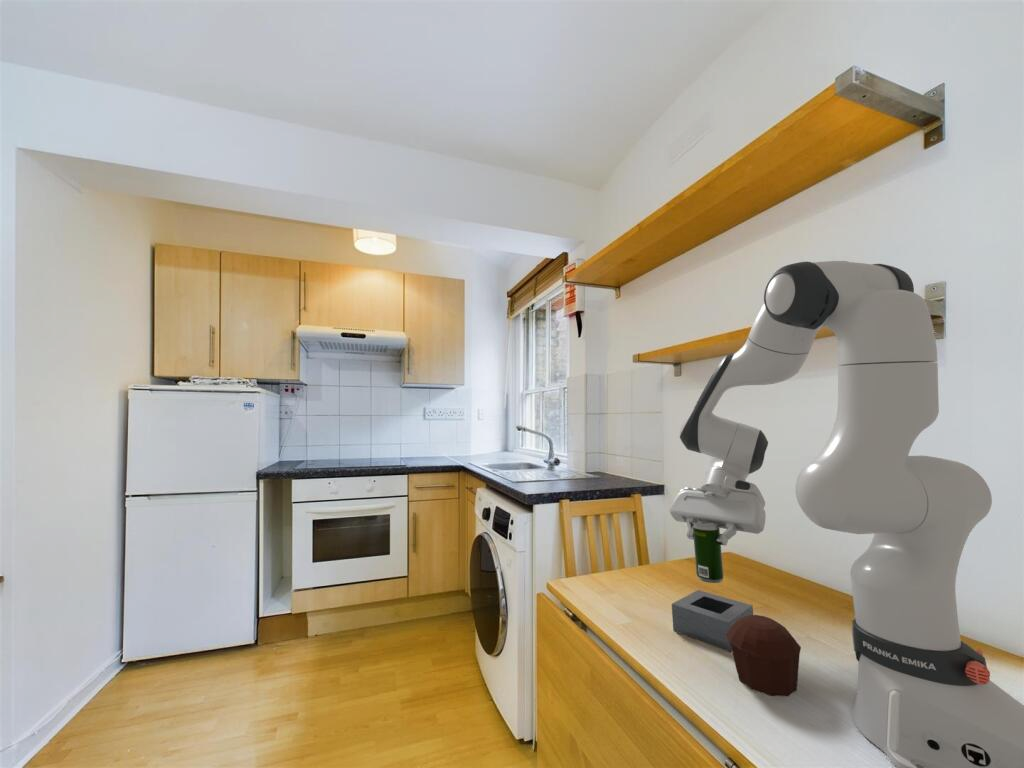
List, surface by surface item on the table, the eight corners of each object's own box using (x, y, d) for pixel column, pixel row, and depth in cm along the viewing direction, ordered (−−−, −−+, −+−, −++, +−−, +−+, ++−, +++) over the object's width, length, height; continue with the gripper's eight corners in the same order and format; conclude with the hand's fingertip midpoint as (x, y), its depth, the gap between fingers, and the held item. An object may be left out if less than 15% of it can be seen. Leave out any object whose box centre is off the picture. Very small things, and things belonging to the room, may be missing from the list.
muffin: (737, 655, 80) (732, 601, 81) (807, 676, 73) (801, 616, 74) (722, 686, 70) (718, 624, 72) (801, 712, 64) (794, 643, 65)
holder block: (754, 632, 88) (752, 605, 89) (730, 652, 81) (728, 622, 82) (699, 614, 98) (698, 589, 98) (673, 630, 90) (671, 603, 91)
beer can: (719, 585, 87) (714, 526, 88) (693, 579, 90) (688, 523, 92) (727, 578, 91) (722, 522, 92) (701, 573, 94) (697, 519, 96)
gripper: (675, 479, 105) (656, 524, 98) (763, 485, 90) (749, 540, 82) (685, 494, 107) (668, 540, 100) (773, 504, 92) (760, 559, 84)
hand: (705, 540), depth 91 cm, fingers closed on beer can, 5 cm apart
